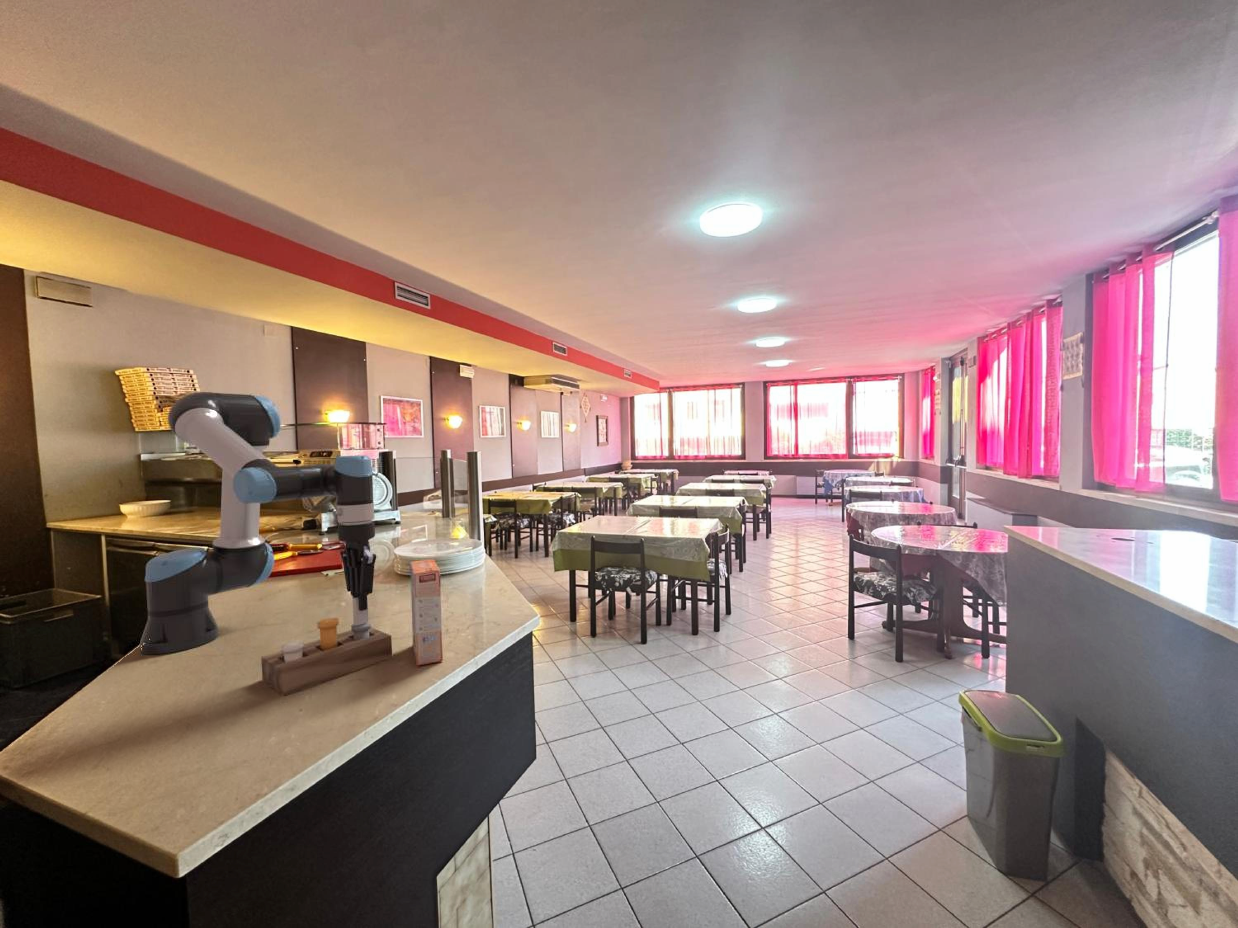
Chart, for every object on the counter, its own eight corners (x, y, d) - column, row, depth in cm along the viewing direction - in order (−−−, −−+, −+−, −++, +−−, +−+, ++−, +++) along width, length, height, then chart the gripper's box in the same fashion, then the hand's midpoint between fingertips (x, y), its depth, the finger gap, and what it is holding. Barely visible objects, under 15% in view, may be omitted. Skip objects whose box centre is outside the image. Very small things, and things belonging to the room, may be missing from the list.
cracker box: (444, 661, 112) (441, 569, 111) (415, 667, 109) (411, 573, 109) (438, 640, 125) (435, 557, 124) (412, 645, 122) (408, 560, 121)
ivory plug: (280, 678, 104) (278, 645, 104) (301, 671, 108) (299, 639, 107) (287, 683, 102) (285, 649, 102) (308, 676, 105) (307, 643, 105)
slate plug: (349, 654, 116) (348, 625, 115) (366, 649, 119) (365, 620, 118) (357, 658, 113) (356, 628, 113) (375, 652, 116) (373, 623, 116)
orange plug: (315, 653, 110) (314, 621, 110) (335, 647, 113) (333, 616, 113) (323, 657, 107) (322, 625, 107) (343, 651, 111) (341, 620, 110)
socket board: (262, 679, 105) (261, 656, 105) (367, 645, 123) (366, 625, 123) (283, 695, 98) (282, 670, 98) (392, 656, 115) (391, 635, 115)
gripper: (326, 522, 116) (331, 622, 117) (352, 526, 108) (357, 634, 109) (359, 518, 122) (364, 613, 123) (386, 521, 114) (391, 623, 115)
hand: (361, 623), depth 116 cm, fingers closed
